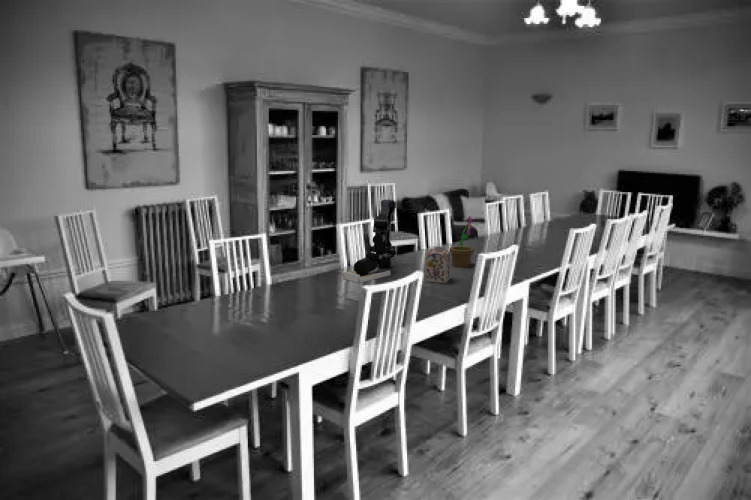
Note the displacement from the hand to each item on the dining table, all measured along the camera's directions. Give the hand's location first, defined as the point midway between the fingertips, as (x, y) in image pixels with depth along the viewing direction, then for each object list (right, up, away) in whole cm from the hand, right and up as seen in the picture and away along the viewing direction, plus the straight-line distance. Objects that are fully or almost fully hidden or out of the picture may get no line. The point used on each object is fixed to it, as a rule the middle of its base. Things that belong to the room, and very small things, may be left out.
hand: (380, 269), depth 320 cm
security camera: (-9, -4, -9) cm, 13 cm away
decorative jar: (+30, -6, -12) cm, 33 cm away
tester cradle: (-8, -4, -7) cm, 11 cm away
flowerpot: (+47, +1, +23) cm, 52 cm away
